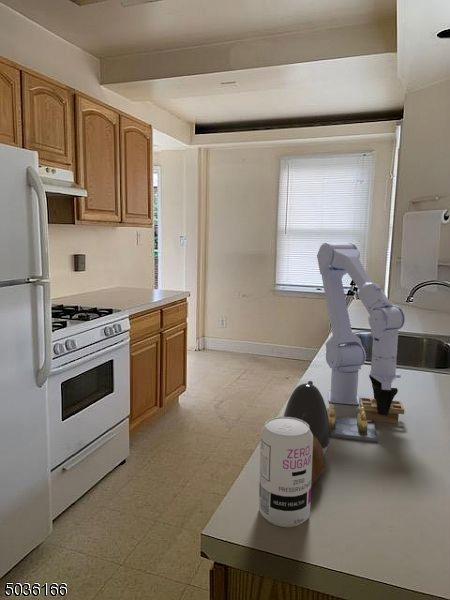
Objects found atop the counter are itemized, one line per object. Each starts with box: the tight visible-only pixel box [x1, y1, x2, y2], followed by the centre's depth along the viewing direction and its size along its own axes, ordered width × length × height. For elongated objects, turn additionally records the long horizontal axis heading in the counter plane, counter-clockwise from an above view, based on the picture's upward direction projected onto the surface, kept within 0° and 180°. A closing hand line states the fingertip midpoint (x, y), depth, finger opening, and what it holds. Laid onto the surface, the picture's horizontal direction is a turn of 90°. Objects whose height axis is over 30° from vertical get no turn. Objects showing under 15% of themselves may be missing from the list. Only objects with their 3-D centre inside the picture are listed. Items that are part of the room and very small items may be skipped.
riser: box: [364, 411, 400, 424], centre depth 108 cm, size 3×8×3 cm, turn 77°
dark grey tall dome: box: [282, 380, 332, 455], centre depth 89 cm, size 10×10×15 cm
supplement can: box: [258, 416, 313, 528], centre depth 70 cm, size 8×8×15 cm
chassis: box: [327, 403, 379, 443], centre depth 102 cm, size 10×13×5 cm
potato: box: [311, 435, 325, 487], centre depth 80 cm, size 8×12×9 cm
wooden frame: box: [358, 397, 405, 415], centre depth 108 cm, size 6×10×1 cm, turn 77°
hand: (380, 408), depth 108 cm, fingers open, 7 cm apart
